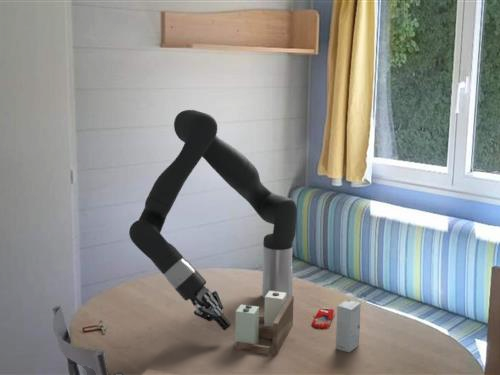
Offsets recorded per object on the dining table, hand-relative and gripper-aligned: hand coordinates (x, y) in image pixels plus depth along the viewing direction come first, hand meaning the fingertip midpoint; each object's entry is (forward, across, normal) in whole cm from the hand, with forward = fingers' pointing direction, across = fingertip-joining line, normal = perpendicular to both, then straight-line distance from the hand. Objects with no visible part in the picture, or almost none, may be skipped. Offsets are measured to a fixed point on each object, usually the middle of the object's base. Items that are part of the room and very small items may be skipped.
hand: (228, 327), depth 169 cm
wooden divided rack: (+9, +6, -1) cm, 10 cm away
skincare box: (+26, +10, -18) cm, 33 cm away
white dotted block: (+10, +12, -4) cm, 16 cm away
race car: (+20, +22, -11) cm, 32 cm away
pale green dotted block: (+7, 0, -1) cm, 7 cm away
